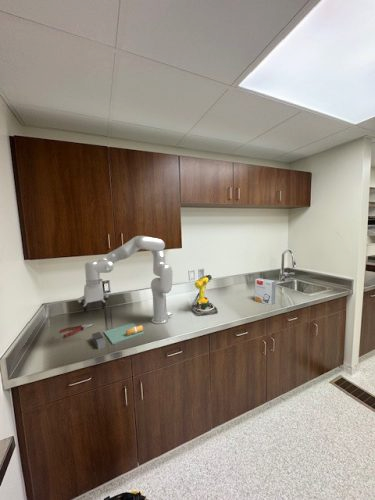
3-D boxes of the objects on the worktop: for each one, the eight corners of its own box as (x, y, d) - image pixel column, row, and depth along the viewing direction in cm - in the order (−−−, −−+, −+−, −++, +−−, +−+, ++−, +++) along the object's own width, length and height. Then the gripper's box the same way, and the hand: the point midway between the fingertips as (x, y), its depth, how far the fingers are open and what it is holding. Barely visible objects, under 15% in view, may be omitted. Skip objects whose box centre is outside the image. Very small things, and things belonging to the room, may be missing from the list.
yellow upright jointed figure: (220, 313, 163) (219, 278, 161) (196, 316, 159) (195, 280, 156) (211, 305, 181) (210, 273, 179) (190, 308, 177) (189, 275, 174)
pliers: (96, 328, 147) (96, 324, 146) (63, 339, 133) (63, 335, 133) (90, 323, 155) (90, 320, 155) (59, 333, 141) (59, 329, 141)
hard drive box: (254, 301, 188) (254, 279, 186) (258, 299, 193) (258, 277, 191) (271, 305, 176) (271, 282, 175) (275, 303, 181) (275, 280, 180)
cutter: (99, 337, 132) (99, 331, 131) (105, 346, 121) (105, 339, 121) (92, 340, 129) (91, 333, 129) (97, 349, 119) (97, 342, 118)
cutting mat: (133, 323, 150) (132, 317, 150) (144, 333, 135) (143, 326, 134) (103, 332, 138) (103, 325, 138) (112, 344, 123) (112, 337, 123)
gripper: (106, 279, 132) (107, 305, 133) (75, 283, 122) (77, 312, 123) (109, 281, 126) (111, 308, 127) (77, 285, 116) (79, 316, 117)
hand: (94, 310), depth 125 cm, fingers open, 9 cm apart
